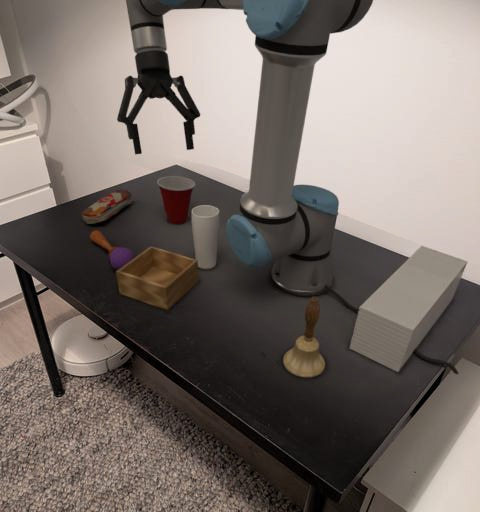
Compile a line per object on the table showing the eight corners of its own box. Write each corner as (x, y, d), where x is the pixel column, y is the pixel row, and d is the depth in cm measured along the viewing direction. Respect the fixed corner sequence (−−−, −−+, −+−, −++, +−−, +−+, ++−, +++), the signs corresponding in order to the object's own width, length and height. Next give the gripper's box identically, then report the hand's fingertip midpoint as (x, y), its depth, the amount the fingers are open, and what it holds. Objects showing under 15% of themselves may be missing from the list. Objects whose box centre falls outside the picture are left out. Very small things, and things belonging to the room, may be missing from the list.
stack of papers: (398, 372, 89) (413, 330, 82) (349, 348, 94) (359, 306, 87) (452, 300, 109) (467, 261, 102) (409, 283, 114) (421, 245, 107)
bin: (198, 281, 111) (197, 260, 107) (167, 310, 101) (165, 288, 98) (152, 267, 115) (150, 245, 112) (119, 293, 106) (115, 271, 102)
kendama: (106, 224, 124) (139, 251, 110) (106, 245, 126) (138, 273, 113) (85, 226, 120) (115, 253, 107) (85, 247, 123) (115, 276, 110)
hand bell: (329, 377, 87) (344, 311, 77) (286, 378, 86) (296, 312, 76) (320, 348, 93) (332, 283, 83) (280, 349, 93) (288, 284, 83)
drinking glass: (192, 258, 119) (190, 204, 110) (218, 257, 120) (218, 204, 111) (193, 272, 114) (191, 217, 105) (220, 271, 115) (220, 217, 105)
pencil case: (71, 219, 134) (68, 203, 131) (121, 198, 147) (119, 183, 144) (97, 230, 129) (94, 214, 126) (146, 207, 142) (144, 192, 139)
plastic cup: (203, 222, 135) (202, 183, 128) (170, 231, 130) (168, 191, 123) (185, 209, 142) (183, 171, 135) (153, 216, 137) (150, 178, 130)
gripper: (193, 57, 112) (203, 148, 119) (92, 56, 101) (110, 157, 108) (206, 50, 106) (217, 146, 113) (100, 47, 95) (119, 155, 102)
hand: (165, 151), depth 110 cm, fingers open, 13 cm apart
